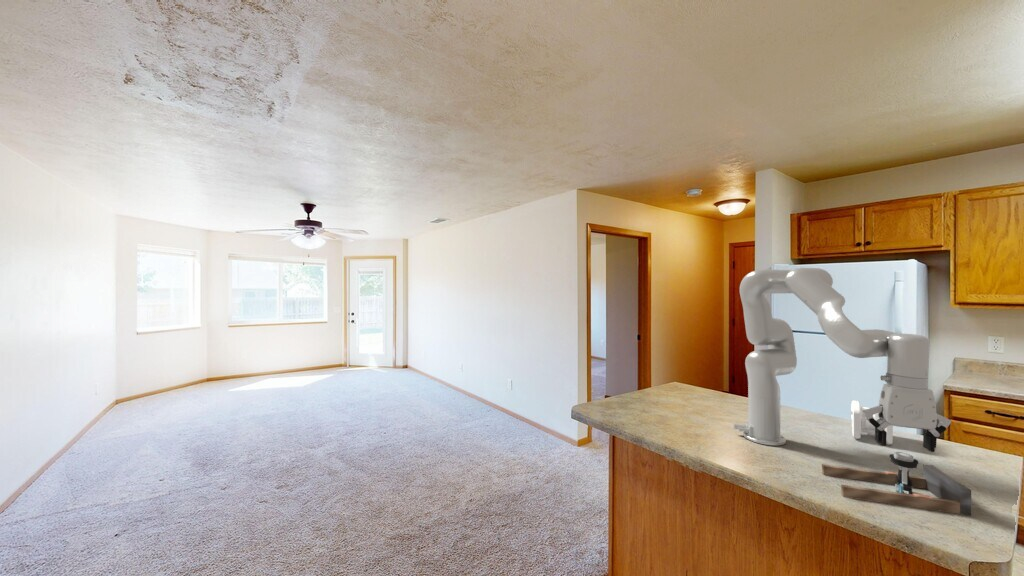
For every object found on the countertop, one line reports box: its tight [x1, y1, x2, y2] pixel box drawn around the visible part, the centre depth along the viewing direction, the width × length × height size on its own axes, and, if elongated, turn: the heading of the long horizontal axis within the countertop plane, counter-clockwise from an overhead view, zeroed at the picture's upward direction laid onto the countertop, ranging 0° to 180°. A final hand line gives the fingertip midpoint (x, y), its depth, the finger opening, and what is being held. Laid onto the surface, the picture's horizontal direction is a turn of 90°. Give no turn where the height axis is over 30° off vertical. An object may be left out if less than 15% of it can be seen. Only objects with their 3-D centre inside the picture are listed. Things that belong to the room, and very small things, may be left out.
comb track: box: [821, 463, 972, 516], centre depth 102 cm, size 24×14×6 cm, turn 70°
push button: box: [889, 451, 919, 495], centre depth 101 cm, size 7×5×10 cm
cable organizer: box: [850, 399, 894, 446], centre depth 138 cm, size 15×11×12 cm
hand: (904, 446), depth 101 cm, fingers open, 9 cm apart
